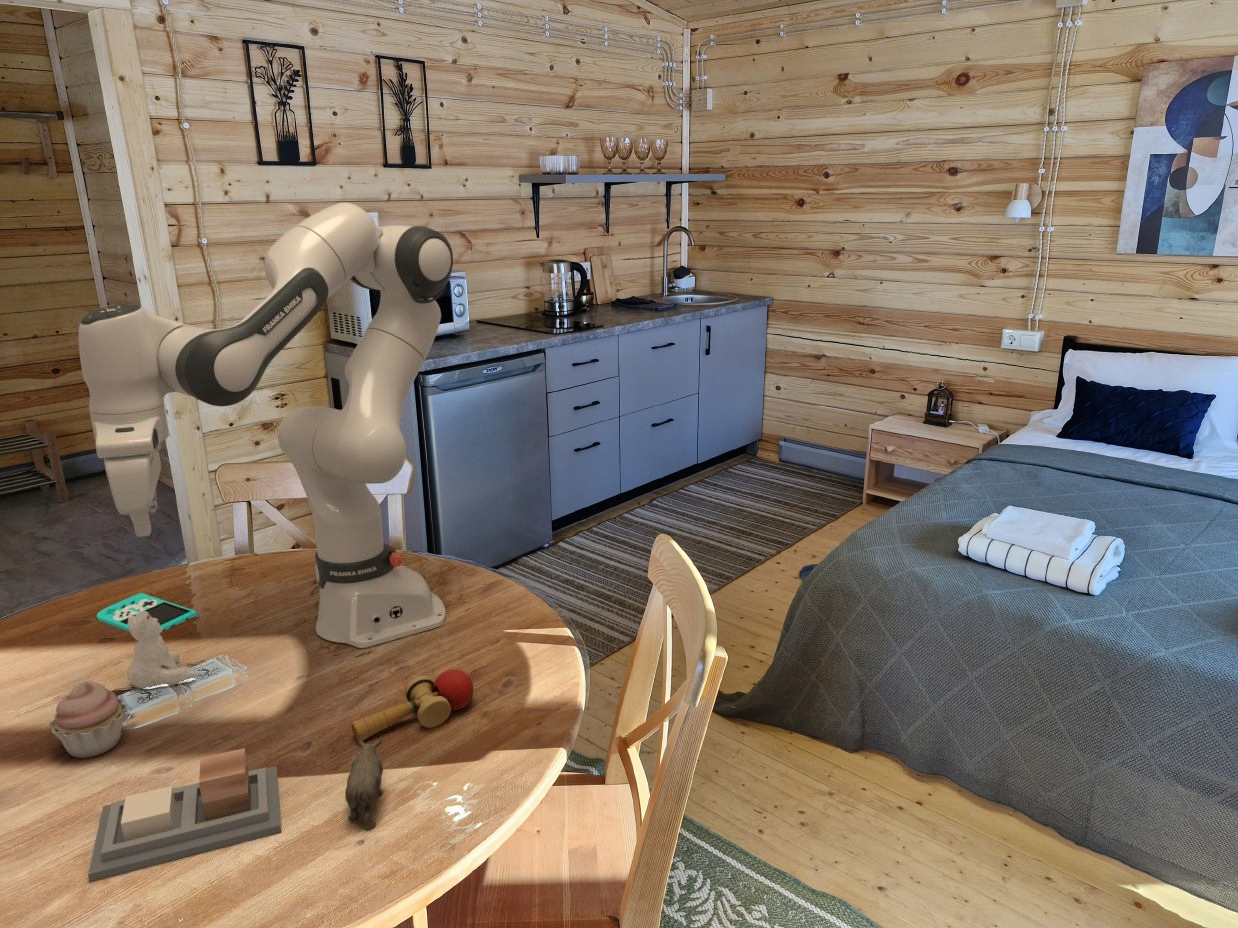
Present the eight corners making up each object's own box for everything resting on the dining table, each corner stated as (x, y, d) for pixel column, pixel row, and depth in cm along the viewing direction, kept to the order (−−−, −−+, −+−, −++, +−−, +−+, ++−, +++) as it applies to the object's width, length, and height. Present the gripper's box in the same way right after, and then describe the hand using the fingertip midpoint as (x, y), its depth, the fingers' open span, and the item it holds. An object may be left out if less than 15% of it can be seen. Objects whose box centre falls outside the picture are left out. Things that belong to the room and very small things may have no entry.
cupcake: (77, 775, 112) (63, 709, 109) (42, 751, 117) (27, 687, 113) (147, 738, 119) (135, 676, 116) (111, 717, 124) (98, 657, 121)
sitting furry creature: (200, 680, 134) (189, 612, 130) (141, 703, 128) (128, 632, 124) (177, 658, 140) (165, 593, 136) (119, 679, 134) (106, 611, 130)
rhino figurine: (389, 758, 116) (386, 720, 114) (379, 829, 103) (375, 787, 101) (358, 761, 115) (354, 723, 113) (344, 833, 102) (339, 791, 100)
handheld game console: (143, 597, 162) (142, 591, 161) (199, 616, 155) (198, 609, 154) (91, 619, 153) (90, 613, 153) (148, 640, 146) (147, 633, 146)
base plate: (277, 772, 113) (273, 746, 111) (281, 831, 102) (277, 804, 101) (104, 812, 105) (98, 785, 104) (89, 881, 95) (83, 852, 93)
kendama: (370, 765, 116) (486, 707, 126) (357, 725, 115) (476, 669, 124) (354, 745, 123) (466, 691, 132) (341, 706, 121) (455, 654, 131)
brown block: (207, 798, 106) (200, 757, 104) (250, 787, 108) (244, 748, 106) (206, 824, 102) (199, 782, 100) (251, 813, 104) (244, 771, 102)
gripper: (114, 412, 123) (130, 501, 127) (93, 449, 105) (112, 552, 109) (163, 408, 125) (177, 496, 129) (150, 444, 107) (167, 545, 111)
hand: (147, 522), depth 119 cm, fingers open, 8 cm apart
